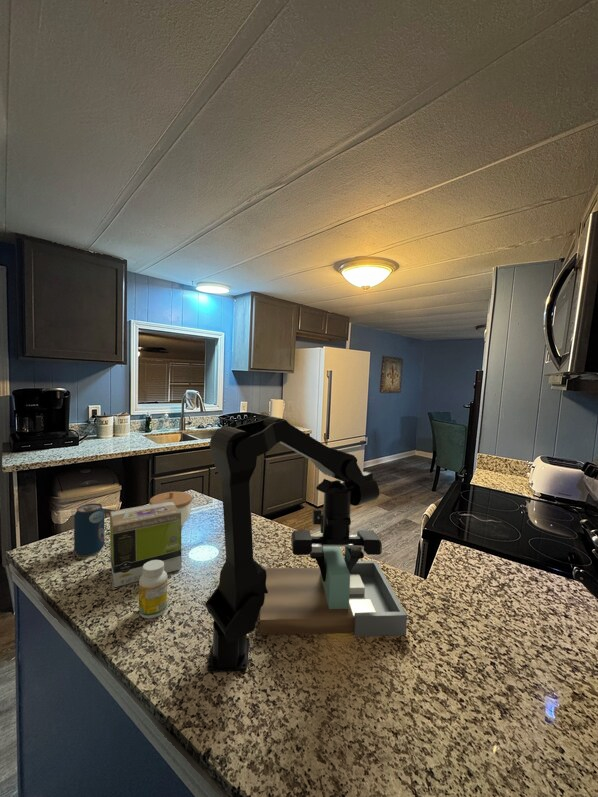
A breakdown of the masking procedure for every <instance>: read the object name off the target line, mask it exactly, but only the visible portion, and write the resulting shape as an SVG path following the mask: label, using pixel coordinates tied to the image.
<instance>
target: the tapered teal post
mask: <svg viewBox="0 0 598 797" xmlns="http://www.w3.org/2000/svg"><path fill="white" fill-rule="evenodd" d="M323 552H324V556H325V572H326V578H325V582H323V579H322V582H323V586H324V590H325V595H326V599H327V603H328V608H329V609H349V592H350V573H349V570H348V568H347V565H346V562H345V560H344V557H345V556H343V552H342V550H341V546H323ZM321 578H322V575H321Z"/></svg>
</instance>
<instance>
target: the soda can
mask: <svg viewBox="0 0 598 797" xmlns="http://www.w3.org/2000/svg"><path fill="white" fill-rule="evenodd" d="M73 526H74V527H73V541H74V542H73V545H74V546H73V550H74V552H75V553H76V554H77V556H81V557H87V556H93V555H95V554H97V553H99V552H101V550H103V547H104V545H105V510H104V508H103V506H102V504H100V503H86V504H84V505H81V506H78V507H76V512H75V513H74V514H73Z"/></svg>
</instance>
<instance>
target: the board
mask: <svg viewBox="0 0 598 797" xmlns="http://www.w3.org/2000/svg"><path fill="white" fill-rule="evenodd" d="M263 568H264V567H263ZM264 569H265V570H266V575H267V577H266V589H267V591H268V593H267V594H266V593H265V600H264V604H263V606H262V607H261V609H260V612H259V636H270V635H269V634H283V635H315V634H317V635H319V634H351V633H353V634H354V615H353V612H352V609H351V606H350V603H349V609H329V608H328V603H327V599H326V595H325V590H324V586H323V582H322V578H321V571H320V568H319V567H272V568H271V567H268V568H267V567H266V568H264ZM296 633H297V634H296ZM301 633H303V634H301Z"/></svg>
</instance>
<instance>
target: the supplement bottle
mask: <svg viewBox="0 0 598 797" xmlns="http://www.w3.org/2000/svg"><path fill="white" fill-rule="evenodd" d="M167 608H168V573H166V572H165V571H164V562H163V561H161V560H152V561H149V562H147V563H145V564H144V565H143V575H142V576H141V577H140V579H139V581H138V613H139V616H140V617H142V618H144V619H155V618H157V617H159V616H161V615H162V614H164V613H165V611H166V610H167Z"/></svg>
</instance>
